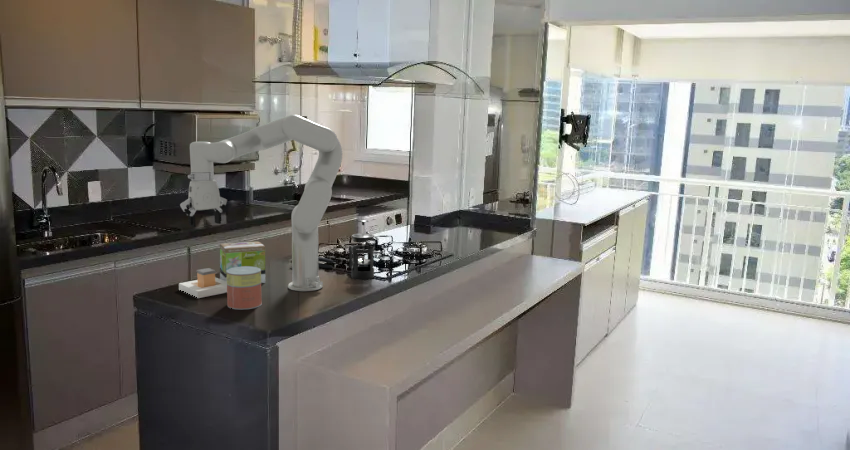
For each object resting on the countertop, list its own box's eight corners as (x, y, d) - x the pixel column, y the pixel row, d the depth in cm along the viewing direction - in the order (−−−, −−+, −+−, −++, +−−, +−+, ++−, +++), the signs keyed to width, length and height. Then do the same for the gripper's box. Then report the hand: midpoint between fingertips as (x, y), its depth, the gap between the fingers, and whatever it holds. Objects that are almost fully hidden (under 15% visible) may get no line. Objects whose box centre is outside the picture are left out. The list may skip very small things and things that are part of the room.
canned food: (263, 299, 225) (263, 266, 223) (259, 309, 214) (258, 274, 212) (230, 299, 224) (229, 266, 222) (224, 309, 213) (223, 274, 211)
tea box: (226, 287, 239) (224, 248, 237) (220, 281, 248) (218, 243, 245) (266, 283, 246) (265, 245, 244) (259, 276, 255) (258, 240, 252)
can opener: (289, 268, 270) (289, 255, 269) (294, 264, 277) (294, 251, 276) (331, 270, 268) (331, 257, 267) (335, 266, 275) (335, 253, 274)
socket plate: (234, 290, 235) (233, 282, 234) (197, 298, 225) (197, 289, 224) (214, 283, 244) (214, 275, 244) (179, 289, 234) (178, 281, 234)
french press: (380, 276, 260) (381, 220, 256) (366, 281, 252) (366, 223, 248) (357, 272, 266) (357, 216, 262) (342, 276, 258) (342, 219, 254)
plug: (216, 289, 235) (215, 270, 233) (203, 291, 231) (203, 272, 230) (209, 286, 238) (208, 267, 237) (197, 288, 234) (196, 270, 233)
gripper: (184, 179, 219) (187, 229, 222) (230, 176, 231) (232, 223, 234) (174, 178, 224) (177, 226, 227) (219, 174, 236) (222, 220, 239)
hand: (205, 225), depth 230 cm, fingers open, 9 cm apart
